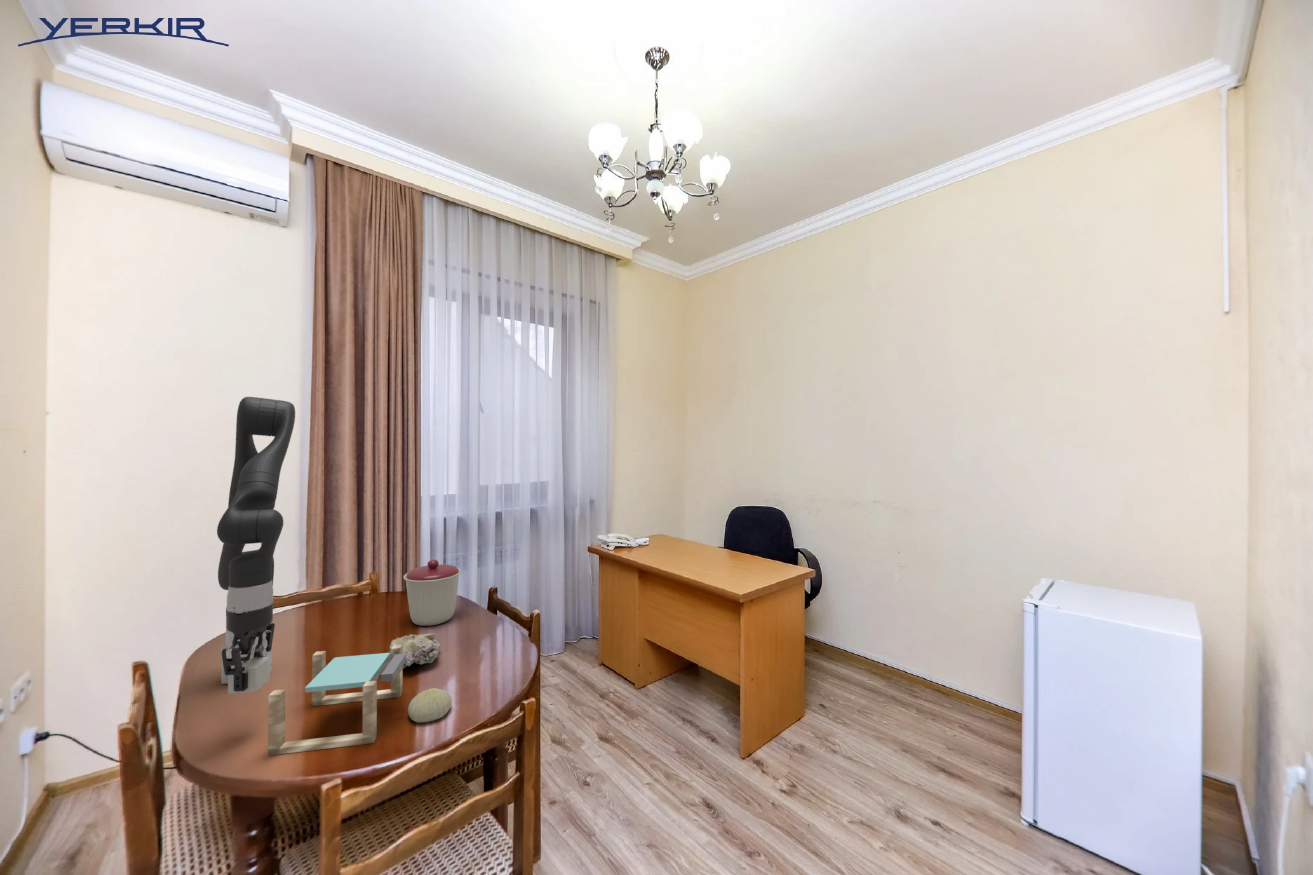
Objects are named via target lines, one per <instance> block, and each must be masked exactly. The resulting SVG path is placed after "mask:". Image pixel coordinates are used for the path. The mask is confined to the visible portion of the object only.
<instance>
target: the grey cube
mask: <svg viewBox="0 0 1313 875" xmlns="http://www.w3.org/2000/svg"><path fill="white" fill-rule="evenodd" d="M241 663H242V667H243V663H244V662H243V661H241ZM231 668H232V667H231ZM247 672H248V688H247V689H246V690H245V691H237V692H236V691H234V675H228V684H227V695H230V694H239V693H241V694H242V693H243V694H244V693H255V692H257V691H259V689H260V688H262V687H263V686H264V685H265V684H266V683H268V682H269V681H270V680H271V673H270V657H257V658H253V659H252V660H251V661H250V662H249V667H248V671H247Z"/></svg>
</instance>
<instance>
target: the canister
mask: <svg viewBox="0 0 1313 875" xmlns="http://www.w3.org/2000/svg"><path fill="white" fill-rule="evenodd" d="M461 573H462V569H461V568H459V567H456V566H455V565H451V564H444V563H443V564H439V561H438V560H437V559H430V560H429V561H427V564H426V565H424V566H420V567H416V568H413V569H411V570H410V571H408V572H406V573H405V574H404V575H403V580H404V581H405V584H406V594H407V602H408V610H409V615H410V619H411V621H412V623H413V624H415V625H417V626H421V627H422V626H423V627H428V626H436V625H439V624H443V623H446V622H448V621H450V619H452V618H453V616H454V614H455V609H456V602H457V595H458V586H459V580H460V579H459V578H460V574H461Z"/></svg>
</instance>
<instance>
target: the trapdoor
mask: <svg viewBox="0 0 1313 875" xmlns="http://www.w3.org/2000/svg"><path fill="white" fill-rule="evenodd" d="M390 657H391V655H390V652H384V653H370V654H359V655H346V656H337V657H333V658H332V660H331V661H330V662H329V663H328V664H326V667H325V668H324V669H323V670H322V671H321V672H320V673H319V674H318V675H317V676H316V677H315V678H314V679H313V680H312V679H311V681H310V682H309V683H308V684H307V685H306V686H305V687H304V693H312V692H315V691H325V690H326V691H333V690H344V689H353V688H363V685H364V684H365V683H366V682H367V681H373V680H374V679H375V677H376V676H377V675H378V673H379V672H380V670H381V669H382V668H383V666H384V665H385V664H386V662H387V661H388V660H389V658H390ZM405 661H406V654H395V656H394V657H393V658H392V660H391V661H390V663H389V664H388V665H387V667H386V668H385V670H384V671H383V672H382V674H381V677H380V682H381V683H384V682H385V683H386V682H391V681H393V680H394V678H395V677H396V675H397V674H398V672H399V671H400V669H401V667H402V666H403V664H404V663H405Z"/></svg>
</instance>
